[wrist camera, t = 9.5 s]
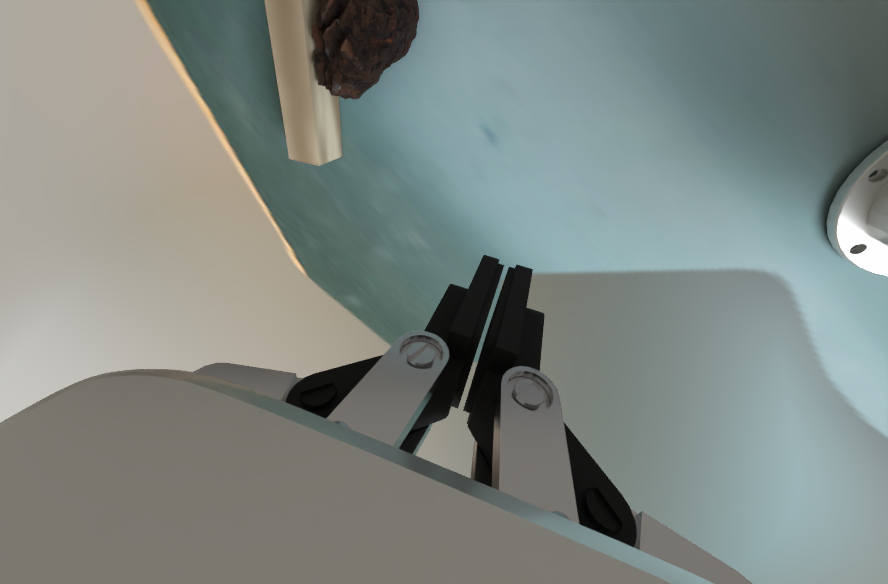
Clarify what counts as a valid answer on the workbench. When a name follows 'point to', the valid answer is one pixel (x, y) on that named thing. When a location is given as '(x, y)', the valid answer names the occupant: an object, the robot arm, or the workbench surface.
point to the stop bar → (302, 83)
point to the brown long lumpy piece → (361, 41)
